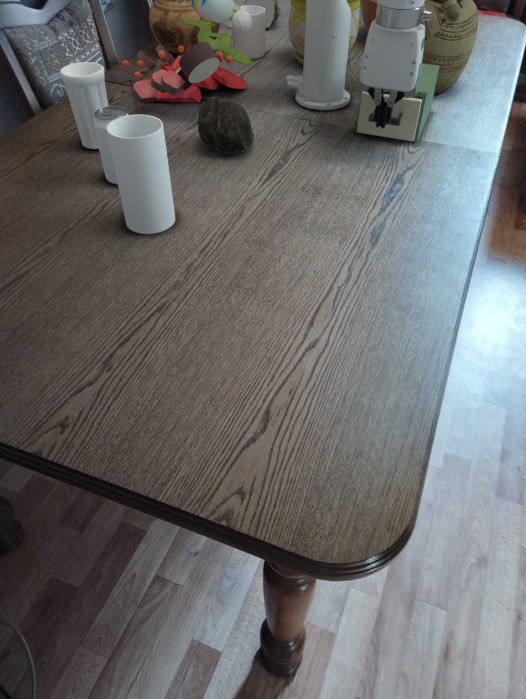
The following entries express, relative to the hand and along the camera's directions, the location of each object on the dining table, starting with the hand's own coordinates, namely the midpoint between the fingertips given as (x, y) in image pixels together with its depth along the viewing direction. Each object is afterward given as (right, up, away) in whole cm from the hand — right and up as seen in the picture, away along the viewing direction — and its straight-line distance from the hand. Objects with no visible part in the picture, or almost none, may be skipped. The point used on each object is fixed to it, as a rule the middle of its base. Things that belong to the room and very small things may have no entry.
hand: (381, 124), depth 105 cm
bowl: (+17, +46, +53) cm, 72 cm away
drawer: (+4, +4, +11) cm, 12 cm away
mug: (-26, +38, +46) cm, 65 cm away
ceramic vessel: (+16, +21, +29) cm, 39 cm away
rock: (-30, -2, +6) cm, 31 cm away
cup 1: (-56, -1, +7) cm, 57 cm away
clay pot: (-43, +40, +47) cm, 76 cm away
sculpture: (-22, +59, +66) cm, 91 cm away
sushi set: (-38, +18, +26) cm, 50 cm away
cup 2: (-41, -21, -12) cm, 48 cm away
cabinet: (+6, +6, +14) cm, 17 cm away
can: (-49, -11, -2) cm, 50 cm away
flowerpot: (-7, +34, +41) cm, 54 cm away
